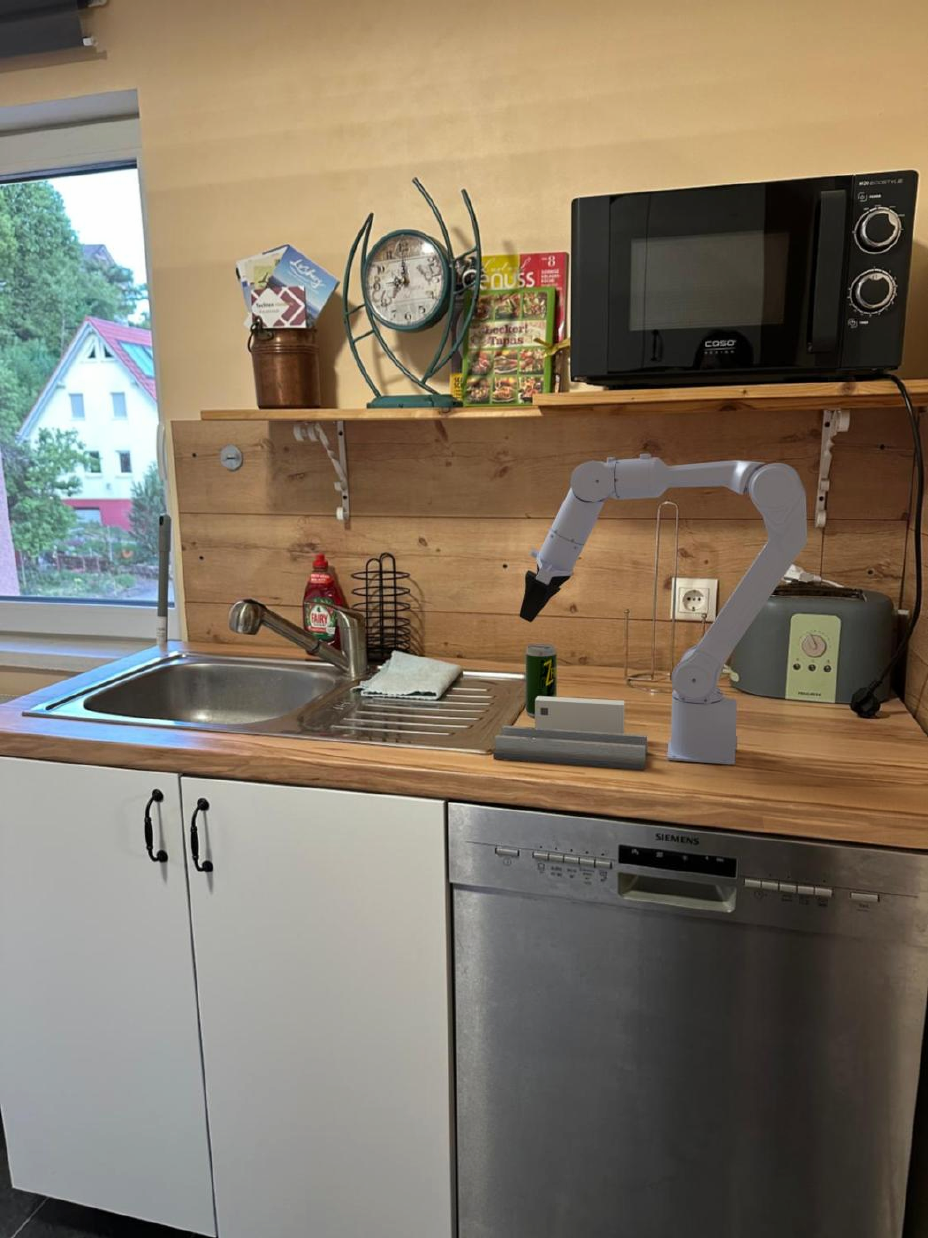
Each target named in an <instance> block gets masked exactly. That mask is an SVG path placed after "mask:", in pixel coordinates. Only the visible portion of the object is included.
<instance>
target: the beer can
mask: <svg viewBox="0 0 928 1238" xmlns="http://www.w3.org/2000/svg"><path fill="white" fill-rule="evenodd" d="M557 654H558V652H557V651H556V646H555V645H553V644H548V643H547V644H546V643H535V644H534V643H533V644H530V645H527V646H526V650H525V711H526V714H527V715H528V716H529V717H530V718H534V719H535V699H536V698H537V696H546V697H558V696H557V695H558V694H557V693H558V692H557V690H558V689H557V688H558V687H557V686H558V685H557V684H558V682H557V681H558V680H557V678H558V677H557V675H558V673H557V672H558V671H557V670H558V667H557V665H558V659H557V657H558V655H557Z"/></svg>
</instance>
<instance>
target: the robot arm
mask: <svg viewBox="0 0 928 1238" xmlns="http://www.w3.org/2000/svg"><path fill="white" fill-rule="evenodd" d="M651 456H652V455H651V454H650V453H641V454H639V458H626V459H624V458H623V459H616V457H615V456H610V457H607V458H606V462H604V461H600V460H599V461H597V460H590V461H586V462H583V463H581V464H580V465H578V466H577V467H576V468H574V470H573V471H572V473H571V478H570V488H569V490H568V492H567V495H566V497H565V499H564V500H563V501H562V502H561V506H560V508H559V509H558V512H557V514H556V516H555V519H554V520H553V522H552V525H551V527H550V529H549V531H548V533H547V536H546V538H545V539H544V542H543V543H542V545H541V548H540V550H539V551H538V550H536V549H532V550H531V551H530V553H529V555H530V557H532V558H534V559H535V561H536V573H535V572H534V571H532V570H530V569H528V570H527V571H526V572H525V575H524V581H525V582H524V583H525V584H524V585H525V586H524V587H525V588H524V593H523V598H522V603H521V607H520V610H519V618H521V619H523V620H525V621H526V622H529V623H532V622H533V621H534V620H535V619H536V618H537V616H538V615H539V613H540V612H541V611H542V610H544V608H545V607H546V605H547V604H548V603H549V601H550V600H551V598H552V597H554V596H555V595H556V594H558V593H559V592H560V591H561V590H562V588H561V586H563V584H565V583H566V582H567V581H569V580H570V578H571V576H572V574H573V572H574V567H575V565H576V563H577V562H578V559H579V557H580V555H581V553H582V551H583V550H584V547H585V545H586V542H587V541H588V538H589V537H590V535H591V533H592V530H593V529H594V526H595V525H596V522H597V521H598V519H599V514H600V512H601V510H602V508H603V507H604V504H605V500H607V499H610V498H613V499H614V500H631V499H632V500H633V499H634V500H635V499H636V500H637V499H654V498H656V499H657V498H660V497H661V496H662V495H663V494H664V493H665V492H666V490H667V489H669V488H698V487H699V488H700V487H725V488H727V489H729V490H731V491H733V492H735V493H736V494H739V495H741V496H743V495H745V494H746V493H748V494H749V497H750V500H751V501H752V503H753V504H754V506H755V507H756V509H757V510H758V512H759V514H761V516H762V518H763V522H764V526H765V529H766V533H767V536H768V540H766V543H765V544H764V546H763V547H762V549H761V550H760V551H759V553H758V555H756V558H755V559H754V560H753V563H752V564H751V565H750V567H749V568H748V570H747V571H746V572H745V574H744V576H743V577H742V578H741V580H740V582H739V583H738V585H737V586H736V588H735V589H734V591H733V592H732V593H731V595H730V596H729V598H728V600H727V601H726V602H725V604H724V606H723V607H722V608H721V610H720V611H719V612H718V615H717V616H716V617H715V619H714V620H713V622H712V624H711V625H710V627H709V628H708V629H707V631H706V632H705V634H704V635H703V637H702V638H701V640H700V641H699V642H698V643H697V644H696V645H694V646H693V647H690V648H689V649H687V650H686V651H685V652H684V653H683V655H682V657H681V659H680V662H679V663H677V665H675V667H674V668H673V671H672V673H671V684H672V687H673V690H672V693H671V717H670V718H671V720H670V721H671V722H670V723H671V725H670V726H671V727H670V740H668V744H667V753H666V754H667V755H666V760H667V761H677V762H678V761H679V762H681V761H682V762H690V763H691V762H692V763H704V764H717V765H720V764H721V765H736V749H738V736H737V725H738V724H737V722H738V721H737V719H738V718H737V716H738V715H737V714H738V713H737V712H738V706H737V705H738V702H737V699H736V698H733V697H732V698H731V697H726V696H724V692H723V691H721V689H720V687H719V685H718V682H719V680H720V678H721V677H722V674H723V672H724V666H725V664H726V662H727V661H728V659H729V657H730V656H731V654H732V653H733V651H734V649H735V648H736V646H738V643H739V642H740V641H741V640H742V638H743V637H744V635H745V633H746V632H747V631H748V629H749V628H750V626H751V624H752V623H753V622H754V620H755V619H756V618H757V616H758V614H759V613H760V611H761V610H762V609H763V607H764V605H766V603H767V601H768V600H769V598H770V597H771V595H772V594H773V593H774V591H775V590H776V588H777V587H778V585H779V584H780V582H781V581H782V580H783V578H784V577H785V575H786V574H787V572H788V571H789V570H790V568H791V566H792V565H793V564H794V562H795V561H796V559H797V558H798V557H799V555H800V553H801V552H802V550H803V549H804V548H805V546H806V543H807V539H808V527H807V524H808V523H807V521H808V520H807V496H806V495H807V493H806V490H805V488H804V484H803V483H802V480H801V478H800V475H799V473H798V472H797V471H796V469H794V468H793V467H792V466H790V465H788V464H786V463H782V462H775V463H769V464H766V462H760V461H759V462H758V461H749V460H740V459H738V460H735V459H733V460H722V461H711V462H702V463H701V462H700V463H687V464H677V465H668V464H666V463H665V462H664V461H663V460H662V459H661V458H660V457H657V456H656V457H651ZM765 464H766V465H765ZM763 465H764V466H763Z"/></svg>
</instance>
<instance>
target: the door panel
mask: <svg viewBox="0 0 928 1238" xmlns="http://www.w3.org/2000/svg"><path fill="white" fill-rule="evenodd" d="M625 702H626V701H625V700H614V699H600V698H599V699H597V698H596V699H594V698H581V697H580V698H578V697H561V696H557V697H546V696H537V698H536V699H535V718H534V727H535V728H550V729H565V730H580V731H595V732H610V733H625V719H626V718H625V717H626V716H625V712H626V711H625V707H626V704H625Z"/></svg>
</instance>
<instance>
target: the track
mask: <svg viewBox="0 0 928 1238" xmlns="http://www.w3.org/2000/svg"><path fill="white" fill-rule="evenodd" d="M492 754H493V755H492V758H497V759H496V760H503V759H509V760H508V761H516V760H518V762H528V761H530V763H533V762H534V763H541V762H542V763H543V764H544V763H545V764H554V763H555V764H556V765H569V766H580V765H583V767H591V768H592V767H595V768H607V769H619V770H620V769H621V770H632V771H645V767H646V762H647V761H646V760H647V757H648V756H647V754H648V734H639V733H637V734H636V733H625V732H624V733H610V732H595V731H580V730H565V729H550V728H535V726H533V727H532V726H517V725H516V726H515V725H503V724H502V727H501V735H500V734H499V735H498V734H496V735H495V736H494V750H493V752H492ZM542 763H541V764H542Z"/></svg>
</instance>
